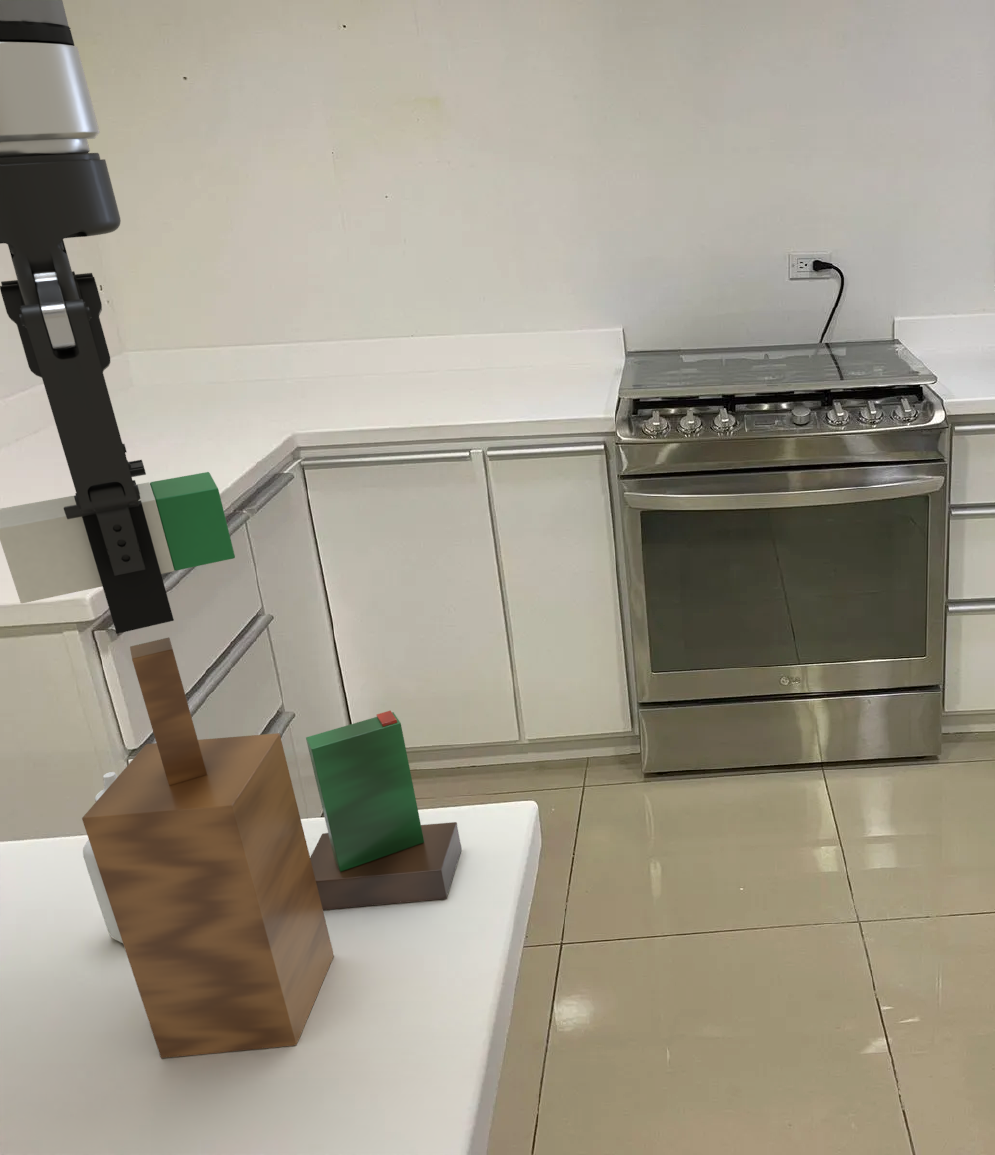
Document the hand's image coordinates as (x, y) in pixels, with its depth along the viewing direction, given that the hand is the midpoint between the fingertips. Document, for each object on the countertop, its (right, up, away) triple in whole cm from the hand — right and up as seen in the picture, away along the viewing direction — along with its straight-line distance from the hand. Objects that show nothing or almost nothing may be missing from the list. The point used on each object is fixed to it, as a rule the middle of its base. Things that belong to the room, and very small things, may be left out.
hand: (141, 609), depth 61 cm
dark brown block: (+6, -20, +22) cm, 30 cm away
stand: (+1, -25, +10) cm, 27 cm away
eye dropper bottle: (-9, -23, +19) cm, 31 cm away
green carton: (+6, -18, +21) cm, 28 cm away
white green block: (0, +2, -1) cm, 2 cm away
